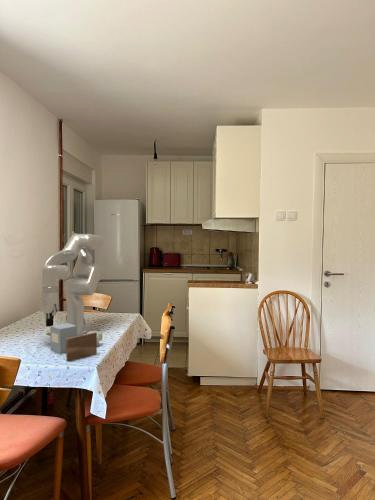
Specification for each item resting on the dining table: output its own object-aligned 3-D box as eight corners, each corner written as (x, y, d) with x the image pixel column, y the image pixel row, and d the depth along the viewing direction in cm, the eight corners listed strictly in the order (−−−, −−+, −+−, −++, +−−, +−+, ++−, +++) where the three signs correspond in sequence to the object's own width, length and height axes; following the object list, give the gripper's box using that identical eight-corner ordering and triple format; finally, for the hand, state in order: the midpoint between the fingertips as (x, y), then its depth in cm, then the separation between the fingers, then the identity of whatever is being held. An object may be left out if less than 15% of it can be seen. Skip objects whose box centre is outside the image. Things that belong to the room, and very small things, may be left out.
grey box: (50, 350, 177) (50, 326, 177) (67, 346, 184) (67, 323, 184) (59, 354, 172) (59, 329, 171) (77, 350, 178) (77, 325, 178)
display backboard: (66, 360, 162) (65, 338, 162) (94, 353, 173) (94, 332, 173) (67, 361, 161) (67, 339, 161) (96, 353, 172) (96, 332, 172)
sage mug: (84, 346, 185) (84, 332, 185) (98, 342, 192) (98, 329, 191) (91, 348, 181) (91, 334, 181) (105, 344, 188) (105, 331, 187)
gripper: (36, 289, 188) (35, 325, 188) (50, 291, 178) (49, 329, 178) (49, 288, 194) (49, 323, 193) (64, 290, 184) (64, 327, 183)
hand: (49, 326), depth 186 cm, fingers closed
